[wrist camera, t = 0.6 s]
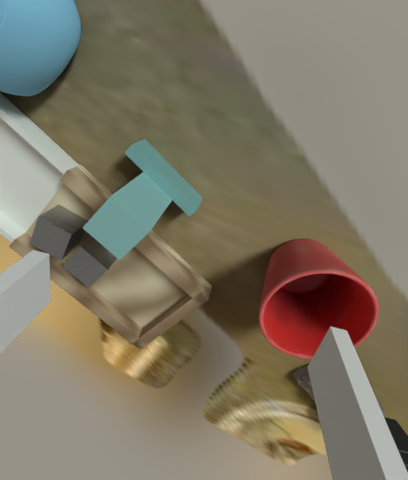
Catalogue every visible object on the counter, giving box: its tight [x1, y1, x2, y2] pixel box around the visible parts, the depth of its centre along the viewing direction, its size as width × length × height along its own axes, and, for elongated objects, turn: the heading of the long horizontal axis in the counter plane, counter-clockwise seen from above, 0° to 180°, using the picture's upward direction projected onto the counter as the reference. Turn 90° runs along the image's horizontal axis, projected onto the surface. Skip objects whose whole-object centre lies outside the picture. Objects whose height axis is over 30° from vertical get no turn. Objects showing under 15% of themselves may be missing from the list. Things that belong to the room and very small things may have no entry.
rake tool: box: [83, 139, 202, 260], centre depth 29 cm, size 5×9×12 cm, turn 44°
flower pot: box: [259, 239, 378, 359], centre depth 32 cm, size 11×11×10 cm
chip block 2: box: [63, 237, 117, 288], centre depth 36 cm, size 4×4×4 cm
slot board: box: [10, 165, 212, 349], centre depth 38 cm, size 22×14×3 cm, turn 45°
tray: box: [0, 92, 79, 243], centre depth 35 cm, size 12×14×2 cm
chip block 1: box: [30, 205, 88, 260], centre depth 35 cm, size 4×4×4 cm
